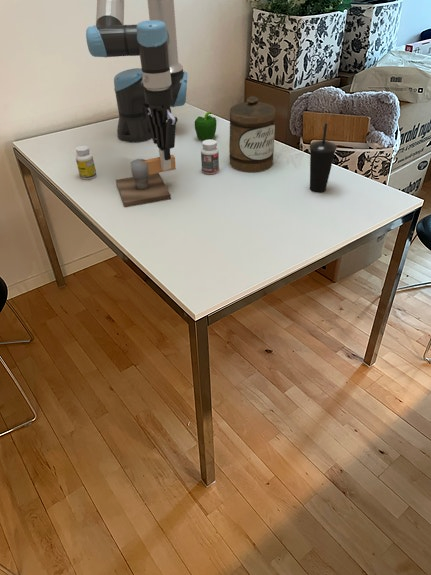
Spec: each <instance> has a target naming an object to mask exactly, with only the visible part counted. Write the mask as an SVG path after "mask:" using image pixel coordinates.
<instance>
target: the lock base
mask: <svg viewBox="0 0 431 575" xmlns="http://www.w3.org/2000/svg"><path fill="white" fill-rule="evenodd" d="M115 183H116V186H117V189H118V192H119V195H120V197H121V202H122V203H123V204H122V205H123V206H124V208H128V207H133V206H139V205H140V206H141V205H145V204H150V203H151V204H152V203H156V202H162V201H167V200H171V198H172V197H171V196H172V195H171V193H170V191H169V189H168V187H167V185H166V184H165V181H164V180H163V178H162V176H161V174H160V173H155V174H150V175H148V176H147V177H145V178H141V179H137V178H134V177H133V176H131V177H124V178H117V179H115Z"/></svg>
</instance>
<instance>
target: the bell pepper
mask: <svg viewBox="0 0 431 575" xmlns="http://www.w3.org/2000/svg"><path fill="white" fill-rule="evenodd" d="M212 113H213V112H212V111H210V110H209V111H207V112H206V113H205V115H204V117H203V116H197V117H196V118H195V120H194V131H195V133H196V137H197V139H198V140H199V141H202V142H203V141H205V140H209V139H211V140H214V138H215V135H216V132H217V126H218V125H217V119H216V117H213V116H211V115H212Z"/></svg>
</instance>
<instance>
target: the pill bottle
mask: <svg viewBox="0 0 431 575" xmlns="http://www.w3.org/2000/svg"><path fill="white" fill-rule="evenodd" d="M201 145H202V148H201V150H200V156H201V157H200V160H201V172H202V173H203V174H205V175H215V174H217V173H219V170H220V163H219V162H220V161H219V160H220V158H219V149H218V147H217V146H218V143H217V140H214V139H212V140H211V139H209V140H205V141H202V142H201Z"/></svg>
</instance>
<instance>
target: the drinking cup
mask: <svg viewBox="0 0 431 575" xmlns="http://www.w3.org/2000/svg"><path fill="white" fill-rule="evenodd" d="M327 128H328V123H324V127H323V136H322V139H321V140H316V141H313V142H311V143H310V145H309V149H310V153H309V154H310V155H309V156H310V157H309V158H310V160H309V163H310V165H309V189H310V191H311V192H313V193H318V194H319V193H324V192H326V190H327V185H328V183H329V178H330V174H331V169H332V165H333V160H334V158H335V152H336V150H337V149H338V148H337V147H338V146H337V144H335V143H334V142H331V141H330V140H329V141H328V140H326V136H327Z"/></svg>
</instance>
